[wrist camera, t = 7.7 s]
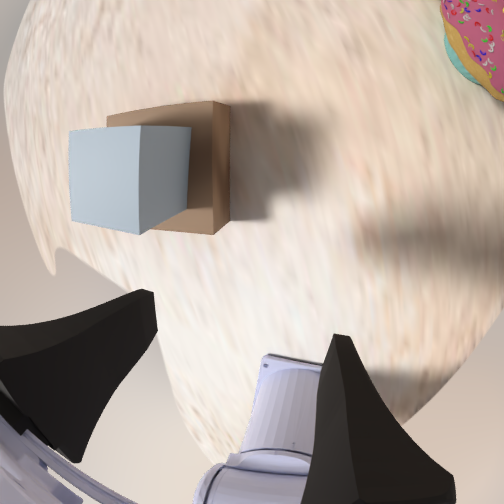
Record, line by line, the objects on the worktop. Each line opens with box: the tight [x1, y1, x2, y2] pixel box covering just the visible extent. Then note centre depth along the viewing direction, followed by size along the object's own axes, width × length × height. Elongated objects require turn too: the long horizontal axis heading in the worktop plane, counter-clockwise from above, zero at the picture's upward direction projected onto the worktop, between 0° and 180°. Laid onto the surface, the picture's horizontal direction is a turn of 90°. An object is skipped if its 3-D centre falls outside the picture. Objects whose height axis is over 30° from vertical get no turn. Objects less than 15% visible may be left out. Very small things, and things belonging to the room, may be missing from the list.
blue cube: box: [69, 126, 192, 235], centre depth 14 cm, size 5×5×5 cm
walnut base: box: [107, 101, 230, 235], centre depth 18 cm, size 8×8×4 cm
